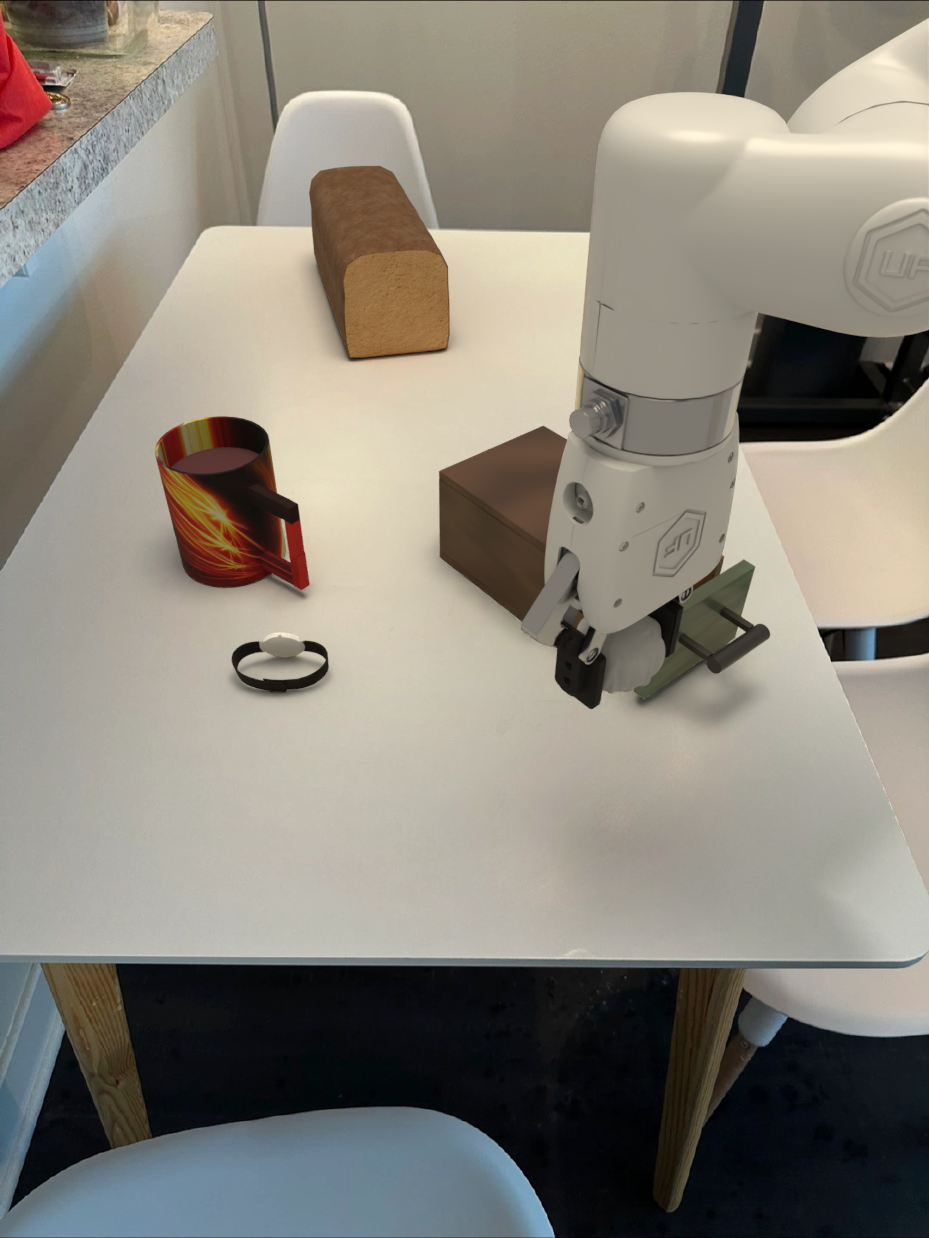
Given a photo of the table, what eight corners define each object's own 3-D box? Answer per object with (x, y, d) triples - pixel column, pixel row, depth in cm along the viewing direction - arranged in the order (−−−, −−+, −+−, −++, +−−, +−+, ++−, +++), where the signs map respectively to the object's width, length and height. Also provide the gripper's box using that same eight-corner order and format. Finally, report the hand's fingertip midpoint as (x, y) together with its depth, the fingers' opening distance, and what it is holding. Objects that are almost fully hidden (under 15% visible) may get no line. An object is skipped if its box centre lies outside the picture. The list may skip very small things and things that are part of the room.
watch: (332, 654, 77) (328, 622, 74) (328, 695, 73) (323, 663, 71) (239, 655, 76) (233, 623, 74) (231, 697, 73) (223, 665, 70)
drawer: (776, 665, 75) (801, 593, 70) (685, 731, 70) (704, 658, 64) (618, 560, 85) (629, 490, 80) (528, 611, 80) (534, 539, 74)
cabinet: (644, 580, 84) (660, 493, 78) (544, 639, 78) (553, 550, 72) (536, 508, 93) (543, 425, 86) (439, 556, 87) (438, 470, 80)
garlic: (582, 718, 53) (591, 654, 49) (550, 656, 57) (555, 592, 53) (677, 697, 54) (691, 633, 51) (639, 637, 58) (650, 573, 54)
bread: (345, 363, 116) (335, 249, 106) (313, 263, 140) (302, 163, 131) (452, 352, 118) (452, 240, 109) (402, 256, 143) (399, 157, 133)
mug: (307, 601, 82) (292, 488, 74) (164, 579, 84) (134, 467, 76) (341, 537, 89) (330, 428, 81) (207, 518, 91) (184, 410, 83)
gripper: (585, 500, 37) (556, 780, 49) (829, 370, 45) (753, 637, 57) (465, 427, 41) (465, 701, 53) (708, 321, 49) (660, 579, 61)
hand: (615, 666), depth 55 cm, fingers closed on garlic, 5 cm apart
